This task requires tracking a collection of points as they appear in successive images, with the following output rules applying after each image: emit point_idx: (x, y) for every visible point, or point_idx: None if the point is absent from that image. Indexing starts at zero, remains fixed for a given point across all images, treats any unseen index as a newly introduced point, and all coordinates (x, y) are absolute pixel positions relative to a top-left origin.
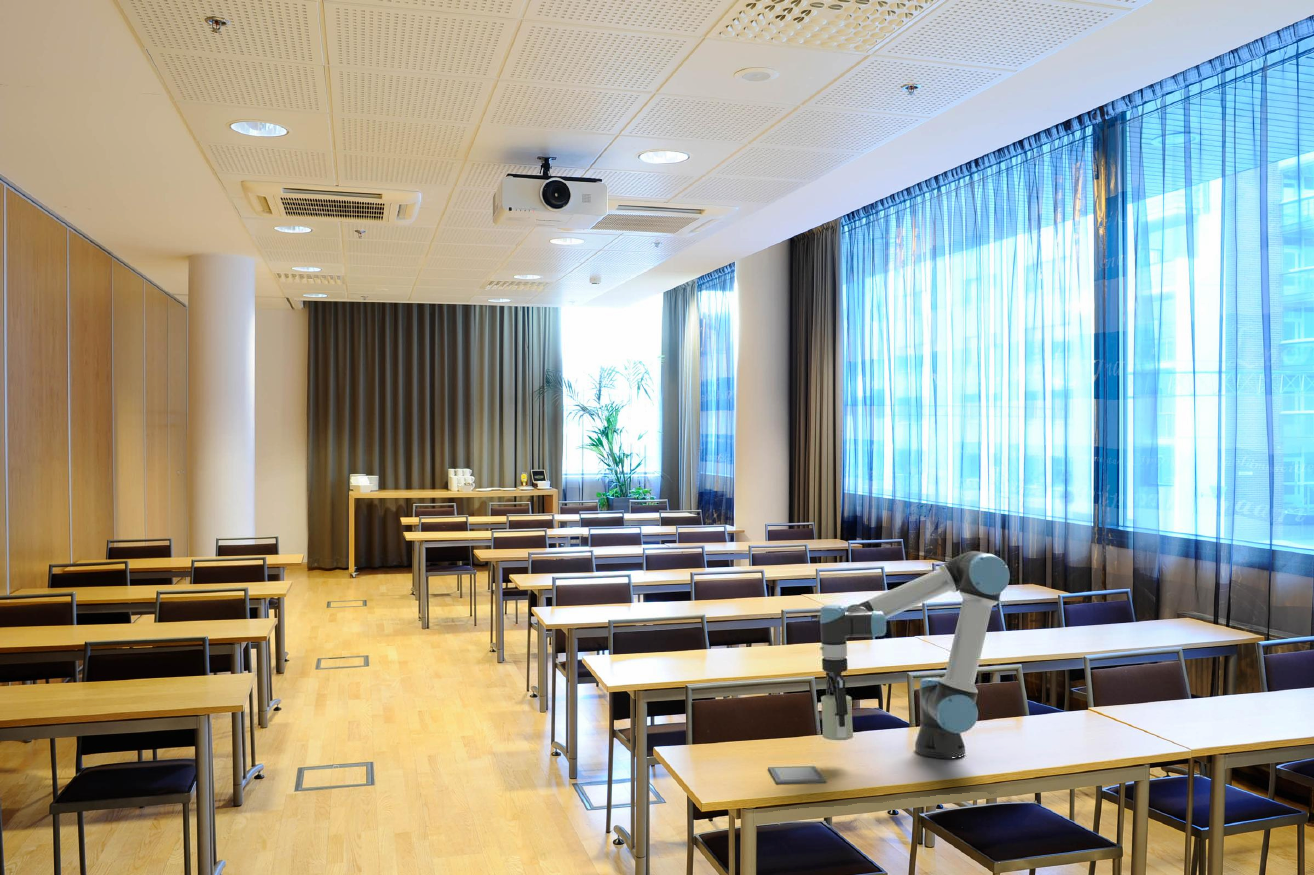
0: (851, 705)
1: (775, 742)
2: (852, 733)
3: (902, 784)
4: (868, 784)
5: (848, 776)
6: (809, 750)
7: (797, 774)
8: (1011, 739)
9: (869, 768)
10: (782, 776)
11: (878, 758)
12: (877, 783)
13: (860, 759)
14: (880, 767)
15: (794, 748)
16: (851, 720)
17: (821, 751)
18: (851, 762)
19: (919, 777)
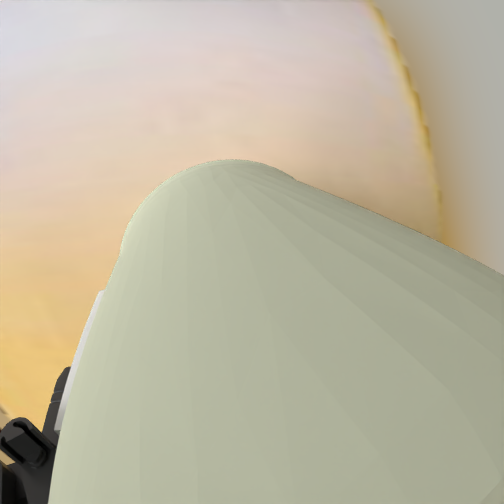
0: (430, 253)
1: (31, 415)
2: (264, 168)
3: (387, 26)
4: (405, 125)
5: (342, 181)
6: (48, 337)
7: None
8: None
9: (228, 90)
10: None
11: (75, 61)
12: (394, 94)
13: (97, 131)
14: (207, 47)
15: (52, 378)
16: (326, 192)
17: (39, 299)
18: (149, 167)
19: None
